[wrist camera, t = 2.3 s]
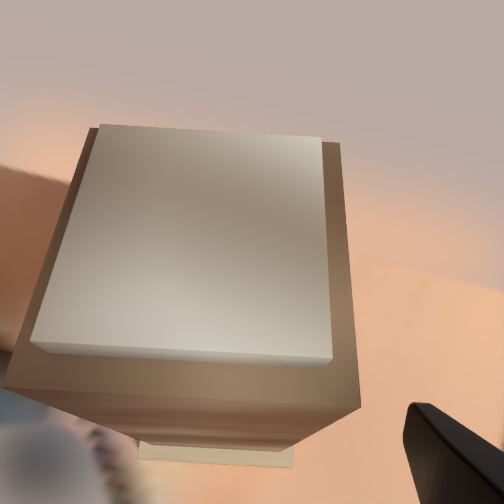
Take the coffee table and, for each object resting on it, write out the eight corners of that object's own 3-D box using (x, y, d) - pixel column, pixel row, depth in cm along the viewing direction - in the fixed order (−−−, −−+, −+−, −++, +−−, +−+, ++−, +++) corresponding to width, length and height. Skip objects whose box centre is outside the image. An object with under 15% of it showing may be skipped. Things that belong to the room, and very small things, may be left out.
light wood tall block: (289, 468, 17) (420, 446, 5) (144, 460, 17) (-82, 418, 5) (289, 328, 20) (370, 102, 8) (166, 321, 19) (60, 83, 8)
